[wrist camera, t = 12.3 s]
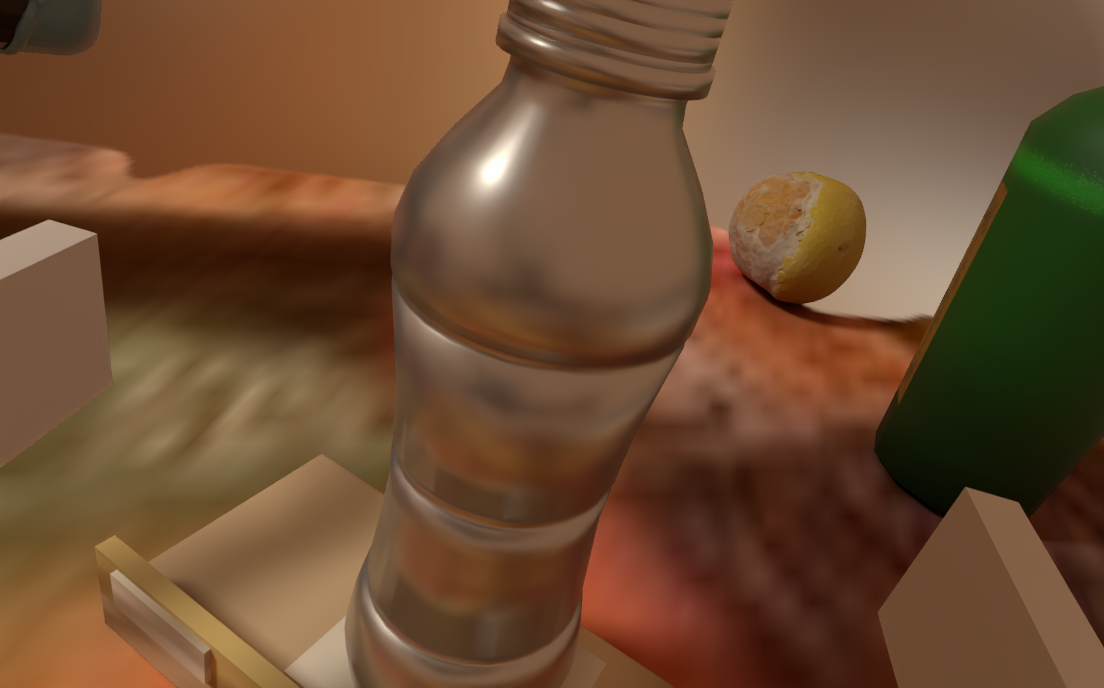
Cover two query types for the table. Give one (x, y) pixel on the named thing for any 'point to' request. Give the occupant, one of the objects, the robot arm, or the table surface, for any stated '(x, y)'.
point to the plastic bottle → (532, 337)
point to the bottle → (1015, 332)
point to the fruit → (798, 235)
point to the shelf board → (277, 593)
